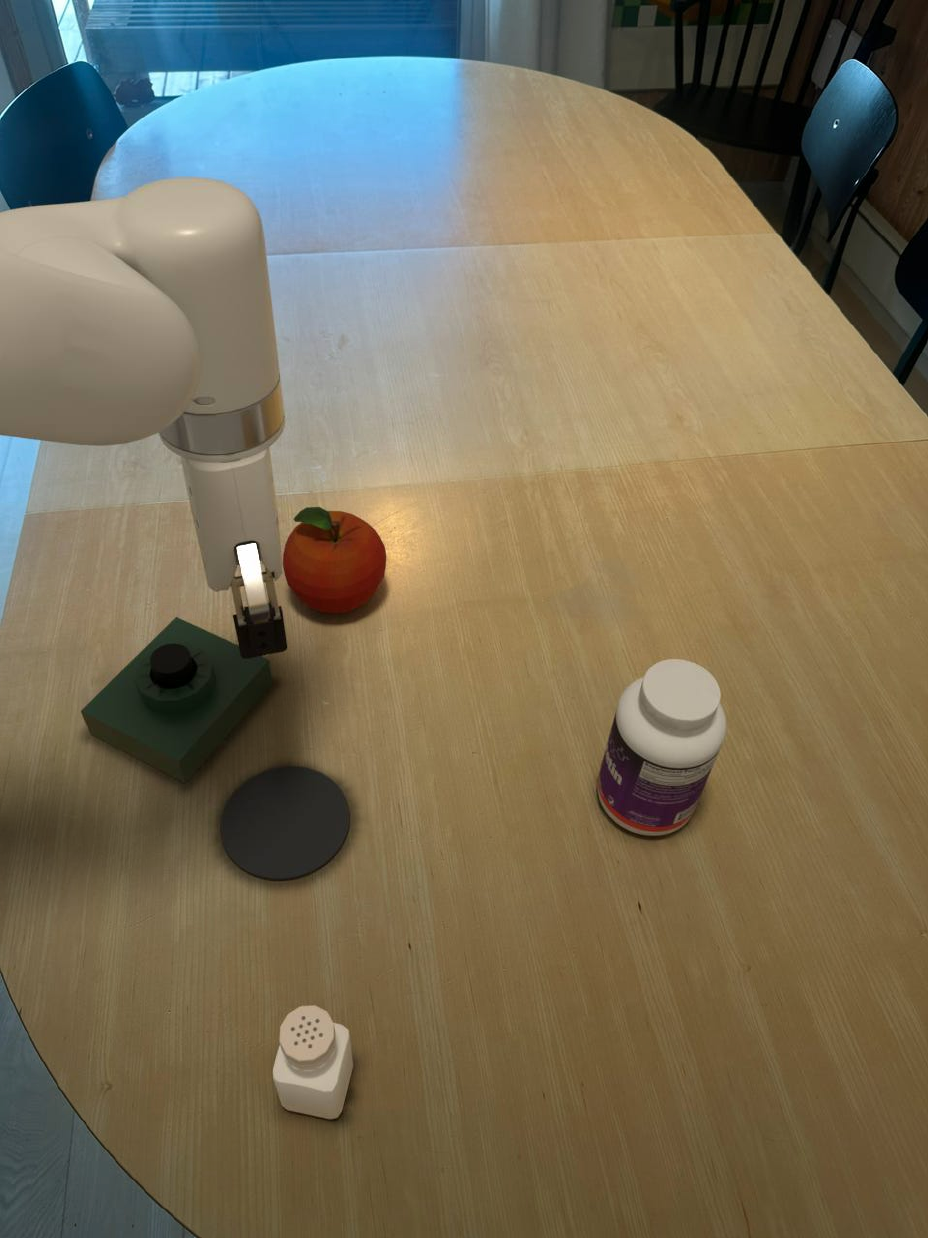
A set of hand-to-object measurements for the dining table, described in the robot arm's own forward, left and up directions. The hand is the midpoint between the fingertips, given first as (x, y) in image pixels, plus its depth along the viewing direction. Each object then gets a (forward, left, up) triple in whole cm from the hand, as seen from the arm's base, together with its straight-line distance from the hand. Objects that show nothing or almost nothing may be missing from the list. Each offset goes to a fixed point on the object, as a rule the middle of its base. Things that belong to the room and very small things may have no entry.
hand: (253, 602), depth 70 cm
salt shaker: (-22, -19, -16) cm, 33 cm away
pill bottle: (+9, -30, -16) cm, 35 cm away
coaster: (-7, -6, -16) cm, 18 cm away
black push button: (-2, +8, -11) cm, 14 cm away
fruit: (+16, +4, -16) cm, 23 cm away
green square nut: (-2, +8, -16) cm, 18 cm away
